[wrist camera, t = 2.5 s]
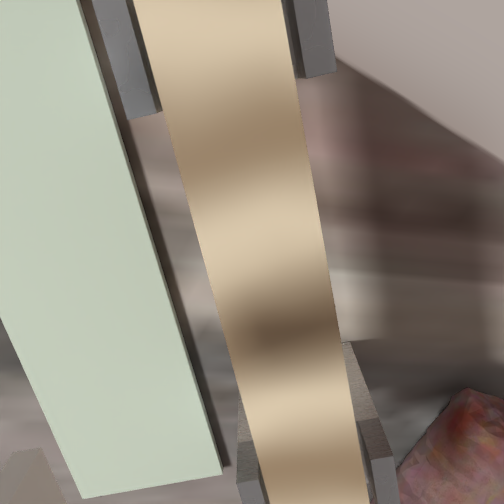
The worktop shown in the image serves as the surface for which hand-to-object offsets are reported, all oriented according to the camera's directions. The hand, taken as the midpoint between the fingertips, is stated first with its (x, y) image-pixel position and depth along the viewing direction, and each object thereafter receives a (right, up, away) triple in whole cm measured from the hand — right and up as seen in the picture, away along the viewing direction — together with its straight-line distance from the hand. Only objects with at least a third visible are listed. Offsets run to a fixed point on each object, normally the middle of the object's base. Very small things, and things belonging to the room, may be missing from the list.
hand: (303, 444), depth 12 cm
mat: (-12, +3, +16) cm, 20 cm away
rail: (0, +3, +9) cm, 9 cm away
